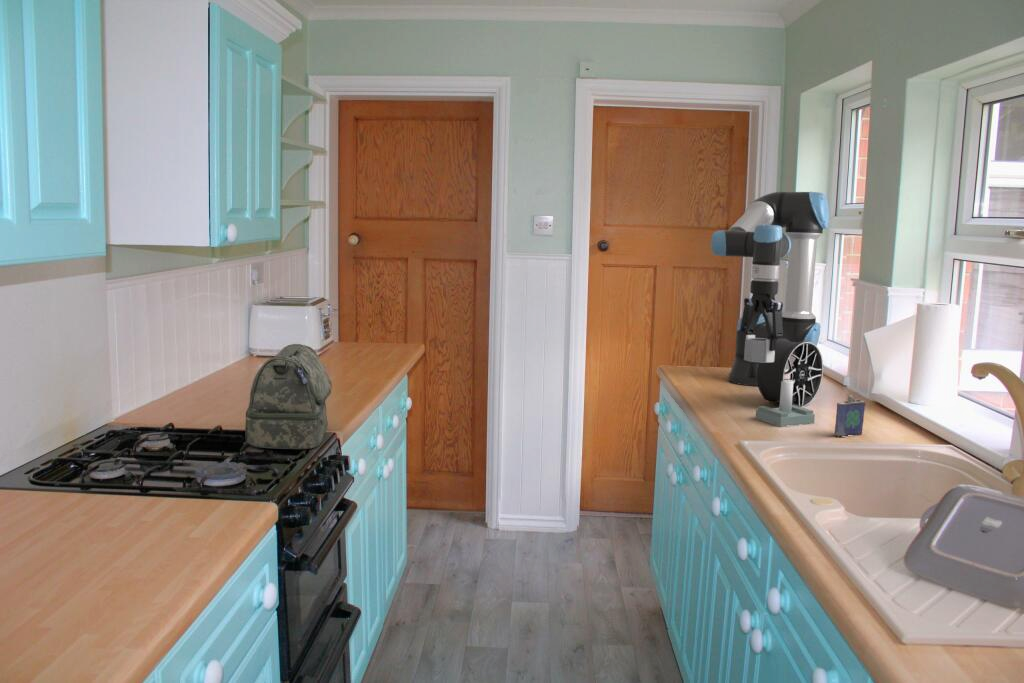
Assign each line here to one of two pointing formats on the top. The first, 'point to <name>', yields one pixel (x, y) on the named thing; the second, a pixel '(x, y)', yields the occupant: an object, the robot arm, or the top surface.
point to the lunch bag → (289, 401)
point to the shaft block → (785, 410)
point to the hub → (755, 350)
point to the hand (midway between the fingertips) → (759, 359)
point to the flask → (849, 417)
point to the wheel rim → (792, 372)
